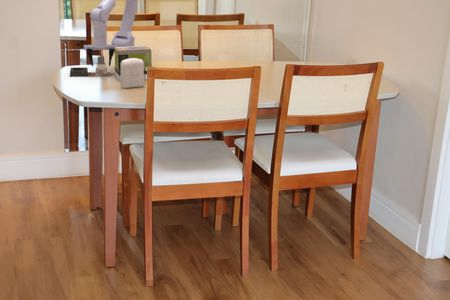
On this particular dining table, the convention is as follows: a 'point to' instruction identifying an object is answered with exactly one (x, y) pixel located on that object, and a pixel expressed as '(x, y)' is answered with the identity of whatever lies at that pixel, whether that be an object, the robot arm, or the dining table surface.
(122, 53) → the tea box
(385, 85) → the dining table surface
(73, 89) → the dining table surface
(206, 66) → the dining table surface
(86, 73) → the panel
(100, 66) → the plug
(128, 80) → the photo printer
